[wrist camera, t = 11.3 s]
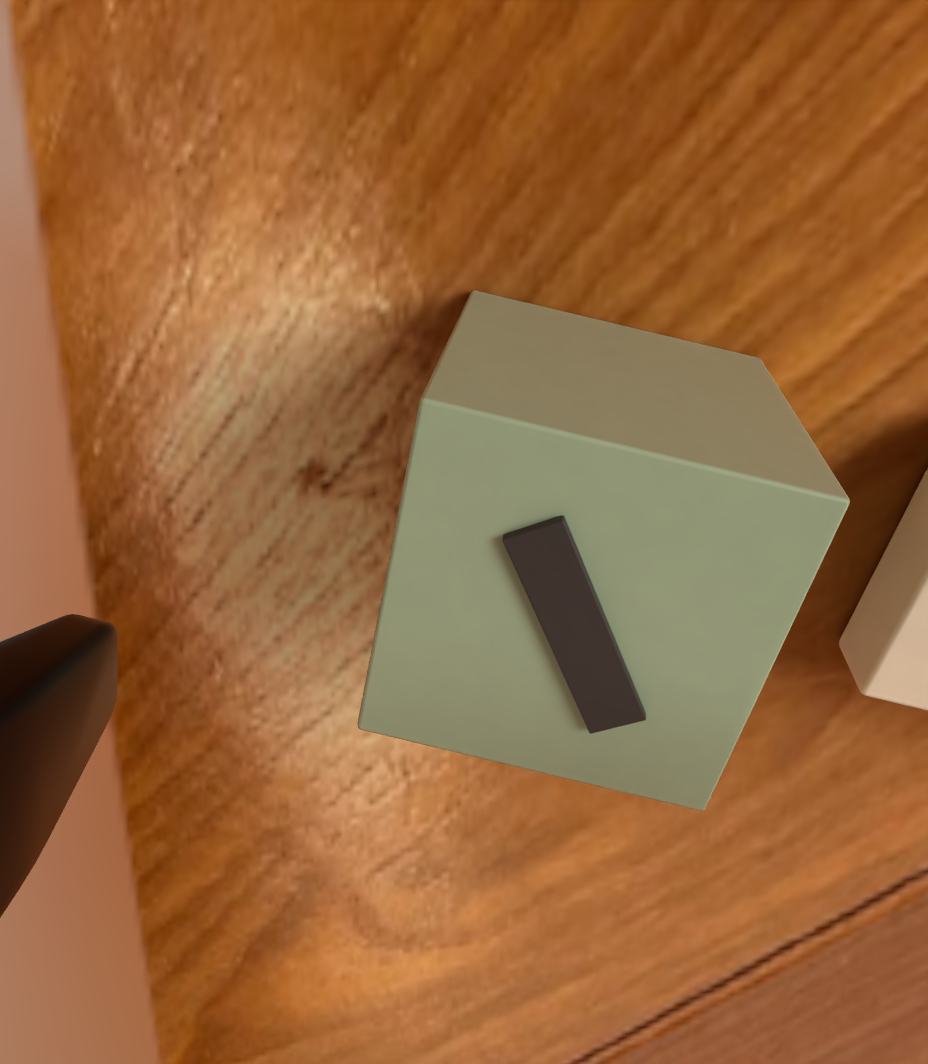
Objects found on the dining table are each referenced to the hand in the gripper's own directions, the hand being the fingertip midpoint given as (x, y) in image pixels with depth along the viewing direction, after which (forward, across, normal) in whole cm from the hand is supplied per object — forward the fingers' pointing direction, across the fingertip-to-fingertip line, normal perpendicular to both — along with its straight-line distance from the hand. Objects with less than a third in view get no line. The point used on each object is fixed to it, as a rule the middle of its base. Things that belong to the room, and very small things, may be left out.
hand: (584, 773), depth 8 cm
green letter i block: (+7, 0, 0) cm, 7 cm away
